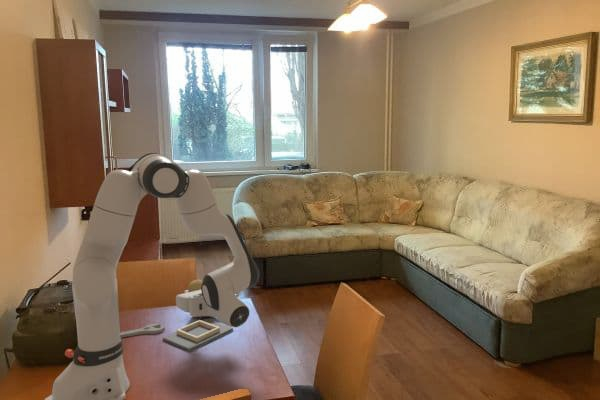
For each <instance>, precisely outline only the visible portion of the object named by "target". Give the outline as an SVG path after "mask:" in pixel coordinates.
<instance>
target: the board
mask: <svg viewBox="0 0 600 400" xmlns="http://www.w3.org/2000/svg"><path fill="white" fill-rule="evenodd" d="M232 331H234V327H230V326H227V325H225V324H223V323H221V322H219V321H215V320H212V319H210V318H208V317H205V318H203V319H202V320H201V319H198V320H196V321H194V322H192V323H189V324H187V325H185V326H182V327H179V328H178V329H176V331H174V332H172V333H169V334H168V335H164V336H163V337H162V341H164V342H167V343H169V344H171V345H174V346H175V347H178V348H180V349H183V350H185V351H187V352H192V351H194V350H196V349H198V348H200V347H202V346H204V345H207V344H208V343H210V342H212V341H215V340H217V339H218V338H220V337H223V336H225V335H227V334H229V333H231V332H232Z"/></svg>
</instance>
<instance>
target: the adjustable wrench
mask: <svg viewBox="0 0 600 400" xmlns="http://www.w3.org/2000/svg"><path fill="white" fill-rule="evenodd" d="M164 331H166V327H165V325H164V326H161V323H151V324H150V323H149V324H147V325H146V326H144V327H141V328H137V329H130V330H126V331H120V337H121V339H123V338H126V337H132V336H133V337H134V336H138V335H144V334H145V335H147V334H149V335H151V334H153V335H154V334H155V335H156V334H160V333H163V332H164Z"/></svg>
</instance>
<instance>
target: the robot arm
mask: <svg viewBox="0 0 600 400" xmlns="http://www.w3.org/2000/svg"><path fill="white" fill-rule="evenodd" d="M148 194H149V195H151V196H153V197H154V198H157V199H174V200H175V202H176V205H177V209H178V212H179V216H180V218H181V221H182V224H183V226H184V228H185V229H186V230H187V231H189V232H190V233H192V234H194V235H197V236H202V237H203V236H204V237H205V236H206V237H209V236H210V237H212V236H221V237H223V238H224V239H225V241H226V242H227V245H228V247H229V249H230V251H231V253H232V256H233V257H234V258H233V259H232V261H231V262H229V263H227V264H226V265H224V266H222V267H219V268H217V269H215V270H213V271H211V272H208V273H207V274H205V275H204V276H203V278H202V280H203V281H202V285H201V290H196V291H192V292H190V290H188V289H185V290H183V292H184V293H179V294H177V295H176V296H175V304H176V305H175V306H176V307H177V308H179V309H180V310H181V311H183V312H184V313H189V316H191V318H192V317H193V318H195V317H196V316H210V317H212V318H216V320H218V321H217V322H219V323H220V324H223V325H226V326H229V327H232V328H239V327H240V326H242V325H244V324H245V323H246V322H247V320H248V318H249V316H250V309H249V307H248V305H246V303H245V302H243V301H242V300H241V299H240V298H238V297H240V296H241V292H243V291H247V290H249V289H251V288H254V287H255V286H257V283H258V282H259V280H260V275H261V274H260V270H259V266H258V265H257V263H256V262H255V260H254V259H253V257H252V255H251V254H250V251H249V249H248V247H247V245H246V243H245V241H244V238H243V236H242V234H241V233H240V230H239V228H238V226H237V225H236V222H235V221H234V219H233V218H232V217H231V216H230V215H229V214H228V213H224V212H222V210H221V209H220V207H219V206H218V203H217V201H216V196H215V194H214V192H213V189H212V186H211V183H210V182H209V180H208V178H207V176H206V174H205V173H204V172H203V171H201V170H199V169H187V170H184V169H183V168H182V167H180V166H179V165H178V164H177V163H176V162H174V160H172V159H171V158H170V157H168V156H165V155H163V154H160V153H156V152H151V153H146V154H144V155H142V156H141V157H139V158H138V160H136V162H134V163H133V164H132V165H131V166H130V167H129V168H128V169H127V170H125V169H115V170H112V171H110V172H109V173H107V175H106V176H105V178H104V179H103V182H102V184H101V185H100V188H99V190H98V191H97V196H96V197H95V200H94V203H93V207H92V211H91V213H90V216H89V219H88V223H87V226H86V228H85V230H86V231H85V233H84V235H83V238H82V241H81V244H80V247H79V250H78V252H77V255H76V258H75V261H74V264H73V268H72V277H71V278H72V279H71V289H72V297H73V298H72V299H73V306H74V316H75V322H76V334H77V346H76V348H75V351H74V350H73V349H71V348H68V349H66V350H65V352H64V355H65V357H67V358H69V359H72V361H71V362H70V363H69V365H68V366H67V367H66V368H65V369H64V370H63V371H62V372H61V373H60V374H59V375H58V376H57V378H55V380H54V382H53V384H52V389H51V390H52V392H51V394H50V395H49V396H47V397H45V398H44V400H125V399H126V393H127V391H128V390H129V388H130V385H131V383H130V380H129V378H128V376H127V372H126V368H125V365H124V364H125V363H124V359H123V358H124V357H123V353H124V347H123V346H124V345H123V338H121V337H120V332H121V330H120V329H121V328H120V317H119V316H120V314H119V293H118V290H119V289H118V278H117V267H118V264H119V261H120V258H121V256H122V253H123V251H124V248H125V247H126V245H127V243H128V240H129V236H130V234H131V232H132V231H131V230H132V228H133V224H134V221H135V218H136V216H137V211H138V207H139V205H140V202H141V201H142V199H143V198H144V197H146V195H148ZM196 318H197V317H196Z"/></svg>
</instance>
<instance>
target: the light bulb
mask: <svg viewBox="0 0 600 400" xmlns="http://www.w3.org/2000/svg"><path fill="white" fill-rule="evenodd" d="M202 281H203V279H194V280H191V282H189V284H188V288H187V290H190V292H192V291H196V290H201V285H202Z"/></svg>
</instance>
